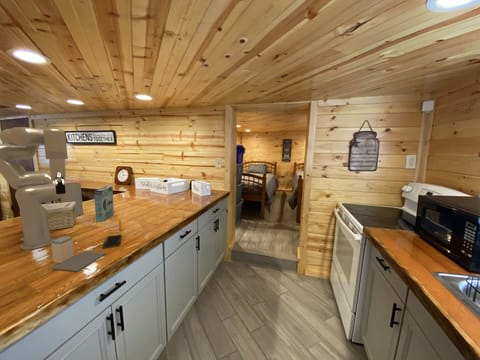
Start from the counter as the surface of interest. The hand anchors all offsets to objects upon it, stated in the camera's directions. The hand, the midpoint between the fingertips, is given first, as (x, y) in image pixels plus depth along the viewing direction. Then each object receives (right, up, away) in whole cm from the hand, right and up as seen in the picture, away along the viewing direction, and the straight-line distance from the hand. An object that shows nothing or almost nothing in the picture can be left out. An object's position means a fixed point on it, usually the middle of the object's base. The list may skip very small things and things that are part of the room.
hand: (60, 192), depth 92 cm
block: (+4, -31, -3) cm, 31 cm away
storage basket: (-38, -26, +35) cm, 58 cm away
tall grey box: (-46, -22, +60) cm, 79 cm away
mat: (+13, -31, -4) cm, 34 cm away
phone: (+14, -29, +16) cm, 36 cm away
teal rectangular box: (-17, -23, +56) cm, 63 cm away
